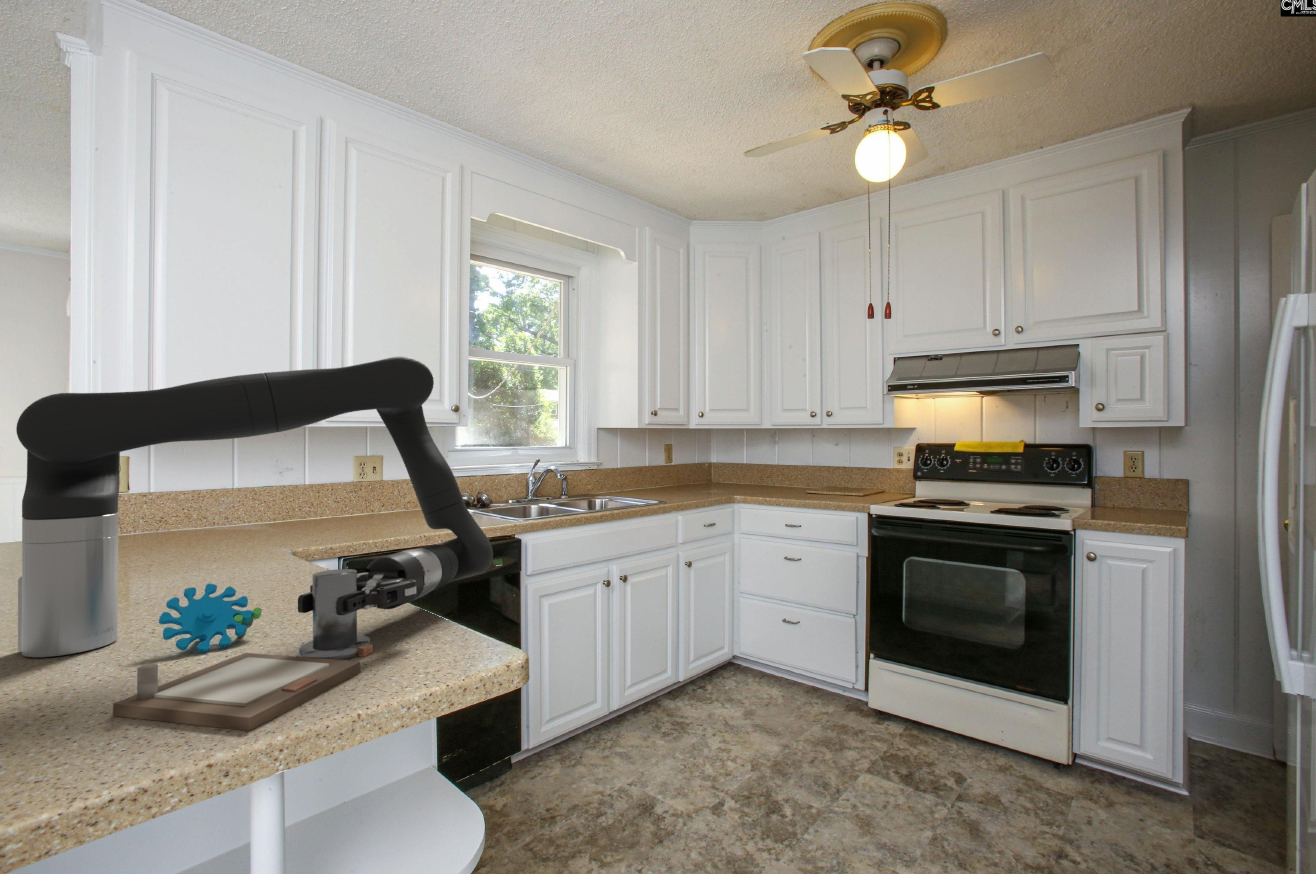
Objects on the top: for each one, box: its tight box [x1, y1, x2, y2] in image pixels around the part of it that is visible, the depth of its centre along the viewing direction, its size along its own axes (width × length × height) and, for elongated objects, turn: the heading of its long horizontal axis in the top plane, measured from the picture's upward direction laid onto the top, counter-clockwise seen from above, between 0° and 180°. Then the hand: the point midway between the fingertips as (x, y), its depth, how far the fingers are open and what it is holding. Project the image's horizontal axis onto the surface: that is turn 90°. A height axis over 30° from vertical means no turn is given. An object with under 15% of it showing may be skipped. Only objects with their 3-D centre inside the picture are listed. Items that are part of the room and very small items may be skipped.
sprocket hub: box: [298, 568, 374, 661], centre depth 79 cm, size 9×8×10 cm
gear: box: [158, 583, 263, 654], centre depth 84 cm, size 11×6×10 cm
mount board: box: [112, 652, 362, 732], centre depth 66 cm, size 16×15×4 cm
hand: (320, 605), depth 77 cm, fingers closed on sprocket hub, 5 cm apart
